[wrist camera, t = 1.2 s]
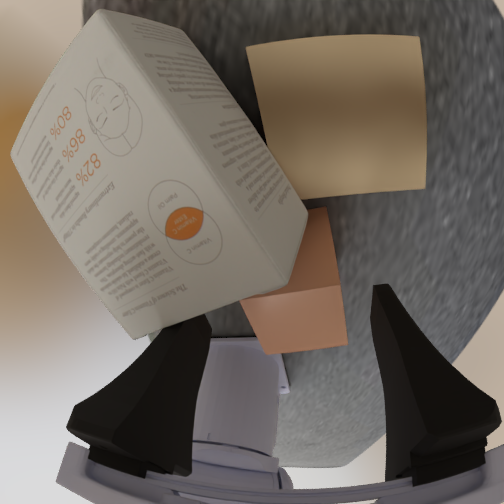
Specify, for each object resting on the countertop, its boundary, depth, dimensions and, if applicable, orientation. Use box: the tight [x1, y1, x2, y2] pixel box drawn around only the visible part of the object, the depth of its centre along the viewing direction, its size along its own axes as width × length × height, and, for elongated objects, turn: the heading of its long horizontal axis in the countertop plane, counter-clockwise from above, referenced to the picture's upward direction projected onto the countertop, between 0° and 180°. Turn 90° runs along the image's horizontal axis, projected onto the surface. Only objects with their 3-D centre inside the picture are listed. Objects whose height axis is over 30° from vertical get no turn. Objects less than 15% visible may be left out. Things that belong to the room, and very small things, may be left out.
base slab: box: [245, 34, 427, 200], centre depth 11 cm, size 7×7×2 cm
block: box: [239, 206, 348, 355], centre depth 15 cm, size 4×4×6 cm
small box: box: [11, 9, 308, 340], centre depth 11 cm, size 8×6×10 cm
